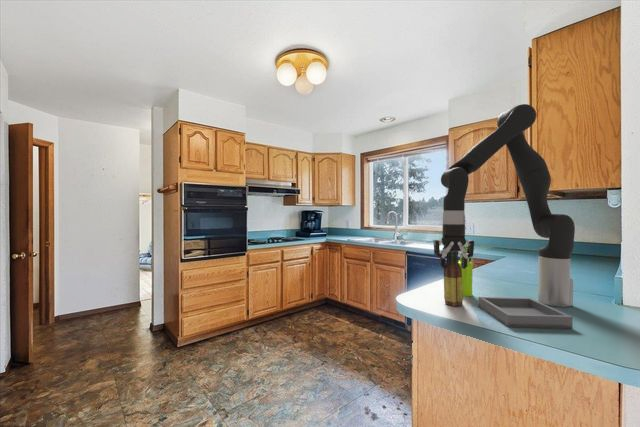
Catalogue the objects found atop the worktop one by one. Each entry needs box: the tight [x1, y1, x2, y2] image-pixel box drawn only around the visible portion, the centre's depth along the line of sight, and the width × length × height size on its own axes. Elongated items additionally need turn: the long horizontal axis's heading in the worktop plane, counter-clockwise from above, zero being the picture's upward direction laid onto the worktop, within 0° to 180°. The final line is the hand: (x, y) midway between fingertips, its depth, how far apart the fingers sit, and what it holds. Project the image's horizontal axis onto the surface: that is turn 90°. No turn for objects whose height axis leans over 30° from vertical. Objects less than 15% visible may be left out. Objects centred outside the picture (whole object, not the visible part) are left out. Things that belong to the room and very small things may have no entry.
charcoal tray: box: [477, 296, 573, 330], centre depth 92 cm, size 18×18×4 cm
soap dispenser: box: [458, 245, 476, 297], centre depth 117 cm, size 6×7×20 cm
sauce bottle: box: [443, 250, 464, 307], centre depth 104 cm, size 7×6×20 cm
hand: (453, 268), depth 104 cm, fingers open, 6 cm apart
